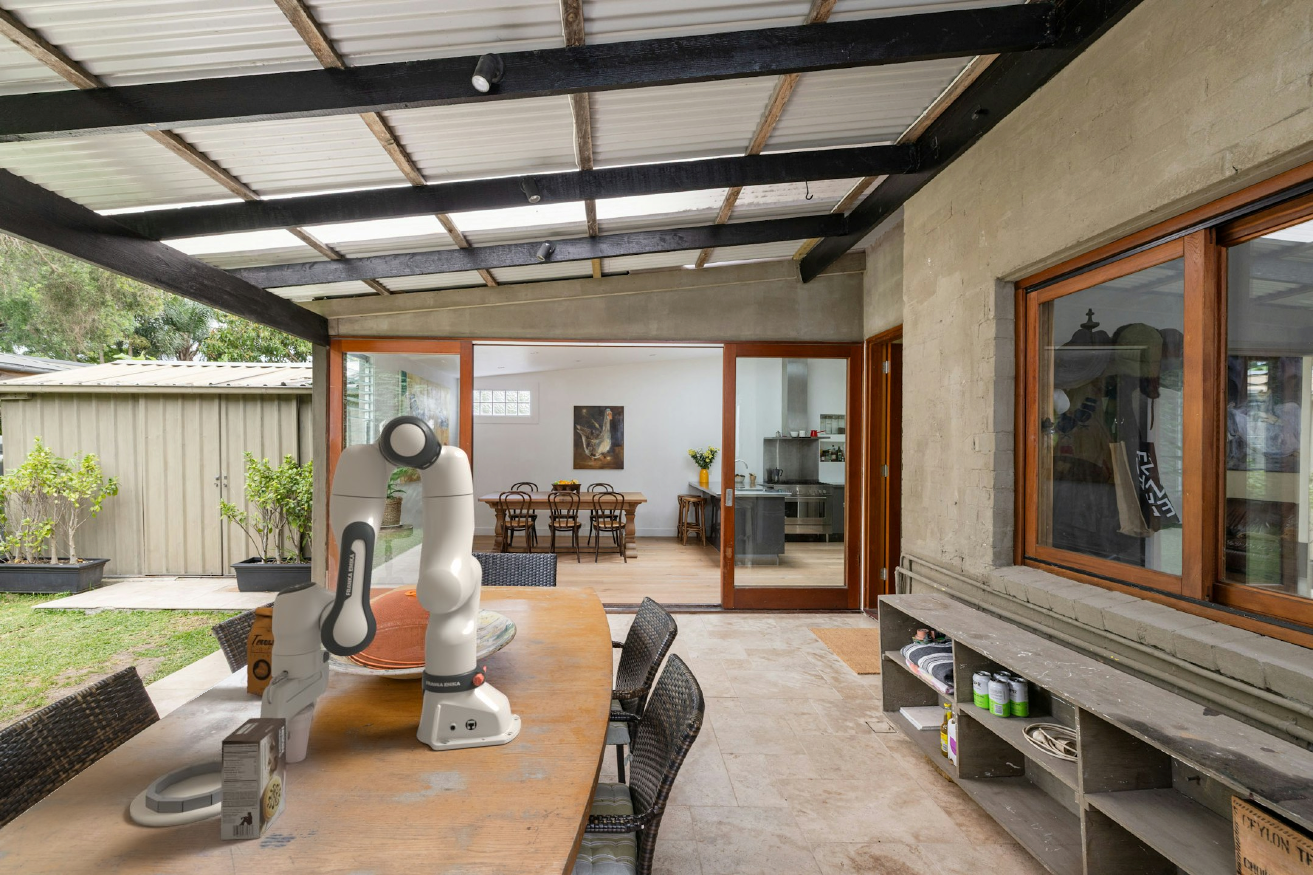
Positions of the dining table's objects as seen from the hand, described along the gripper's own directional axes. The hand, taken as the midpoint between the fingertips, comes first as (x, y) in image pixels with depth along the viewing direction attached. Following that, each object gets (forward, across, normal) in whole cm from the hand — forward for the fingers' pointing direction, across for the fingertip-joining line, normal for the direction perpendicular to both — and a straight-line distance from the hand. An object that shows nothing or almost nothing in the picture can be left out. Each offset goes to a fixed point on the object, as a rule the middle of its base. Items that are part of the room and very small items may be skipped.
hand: (295, 731), depth 134 cm
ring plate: (+5, -14, +10) cm, 18 cm away
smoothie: (+6, 0, 0) cm, 6 cm away
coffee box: (+6, -24, -5) cm, 25 cm away
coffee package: (+6, +37, +24) cm, 44 cm away
